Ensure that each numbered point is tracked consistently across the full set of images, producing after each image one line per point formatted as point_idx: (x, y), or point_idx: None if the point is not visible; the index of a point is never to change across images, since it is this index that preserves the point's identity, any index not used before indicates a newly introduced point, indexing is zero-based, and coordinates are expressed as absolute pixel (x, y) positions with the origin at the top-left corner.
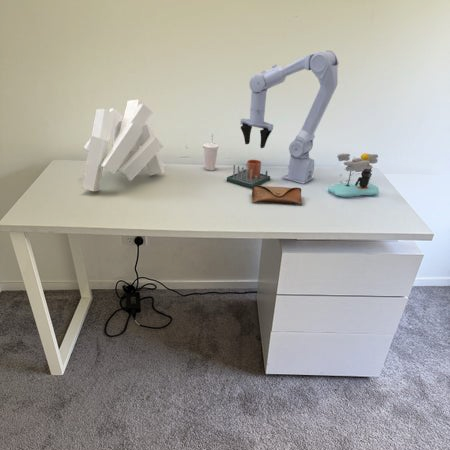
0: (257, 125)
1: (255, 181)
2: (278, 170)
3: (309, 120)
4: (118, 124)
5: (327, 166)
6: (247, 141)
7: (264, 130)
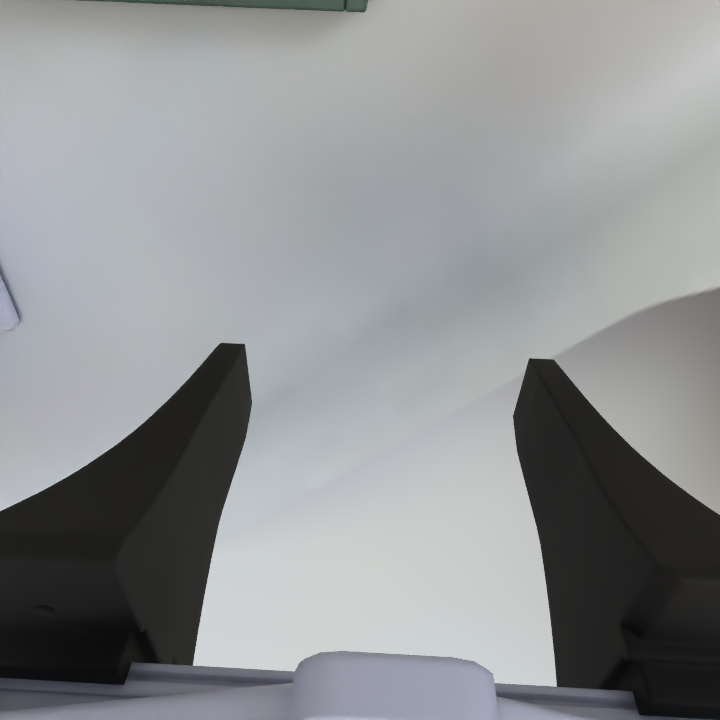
0: (204, 701)
1: None
2: (169, 323)
3: None
4: None
5: None
6: (532, 407)
7: (27, 597)
